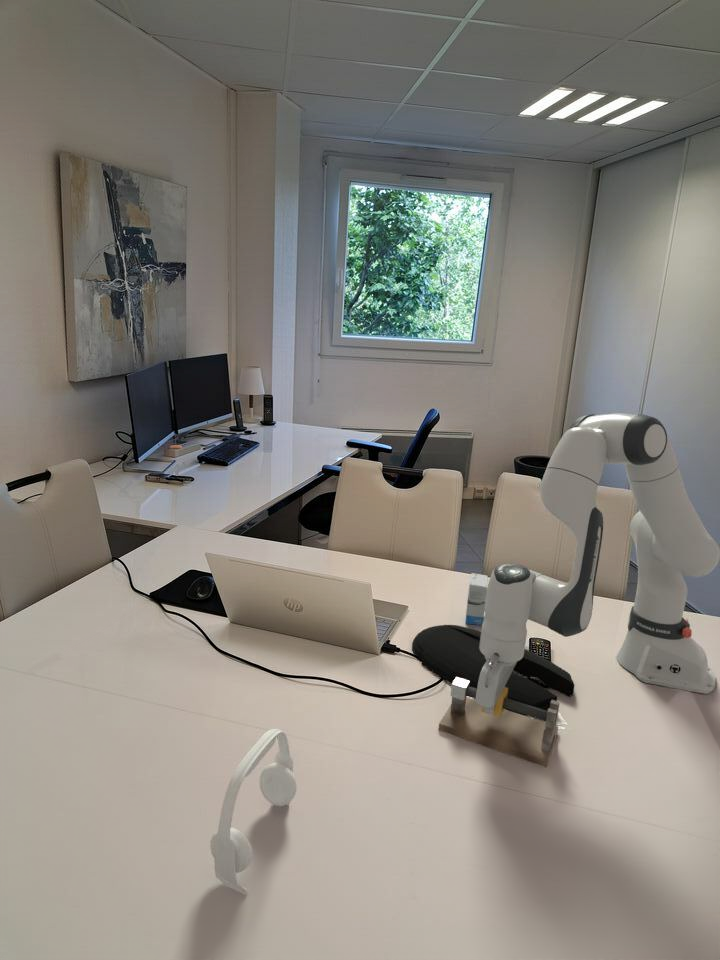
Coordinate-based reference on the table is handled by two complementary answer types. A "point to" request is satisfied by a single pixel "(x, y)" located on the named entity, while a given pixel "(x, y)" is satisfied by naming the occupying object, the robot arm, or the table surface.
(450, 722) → the slider rail assembly
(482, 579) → the ink box
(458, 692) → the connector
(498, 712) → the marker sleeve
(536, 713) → the dark grey rod
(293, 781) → the headset
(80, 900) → the table surface
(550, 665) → the black u-shaped plate
